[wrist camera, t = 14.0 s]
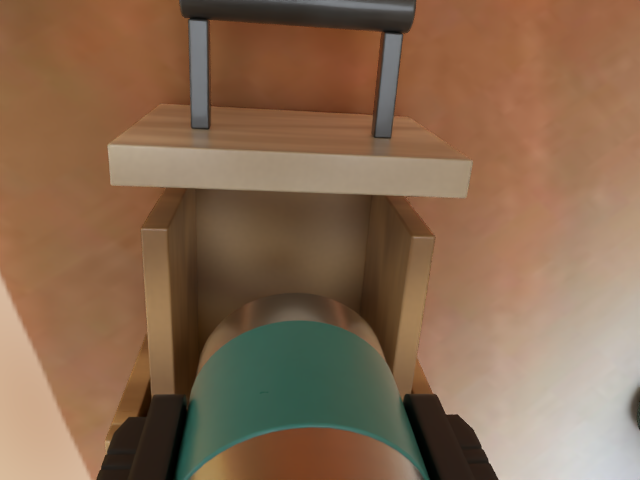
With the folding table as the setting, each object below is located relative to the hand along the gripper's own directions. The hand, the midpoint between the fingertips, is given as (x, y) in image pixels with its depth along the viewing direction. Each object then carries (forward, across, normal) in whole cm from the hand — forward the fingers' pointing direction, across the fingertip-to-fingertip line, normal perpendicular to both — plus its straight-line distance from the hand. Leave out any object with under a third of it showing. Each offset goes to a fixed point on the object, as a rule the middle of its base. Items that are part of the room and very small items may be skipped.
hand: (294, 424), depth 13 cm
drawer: (+12, 0, -1) cm, 12 cm away
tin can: (+2, 0, 0) cm, 2 cm away
